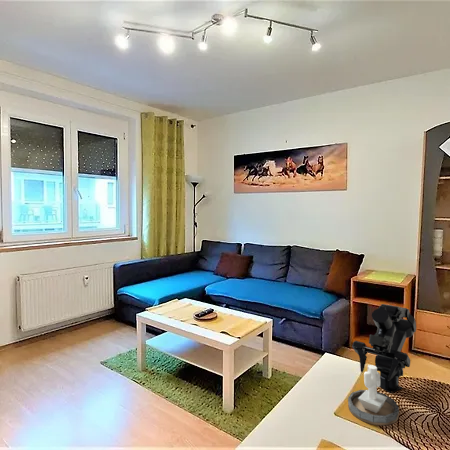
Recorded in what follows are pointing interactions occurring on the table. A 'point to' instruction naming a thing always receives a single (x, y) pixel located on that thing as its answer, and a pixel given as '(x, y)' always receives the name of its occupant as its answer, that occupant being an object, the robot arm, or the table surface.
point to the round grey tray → (371, 417)
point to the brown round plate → (383, 411)
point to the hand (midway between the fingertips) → (374, 376)
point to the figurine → (372, 391)
